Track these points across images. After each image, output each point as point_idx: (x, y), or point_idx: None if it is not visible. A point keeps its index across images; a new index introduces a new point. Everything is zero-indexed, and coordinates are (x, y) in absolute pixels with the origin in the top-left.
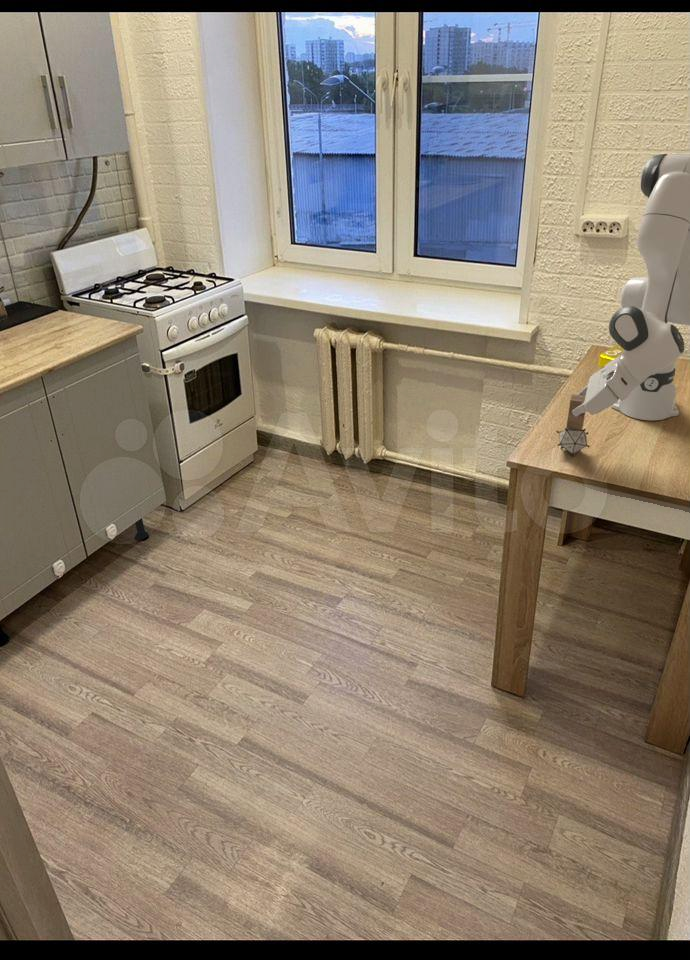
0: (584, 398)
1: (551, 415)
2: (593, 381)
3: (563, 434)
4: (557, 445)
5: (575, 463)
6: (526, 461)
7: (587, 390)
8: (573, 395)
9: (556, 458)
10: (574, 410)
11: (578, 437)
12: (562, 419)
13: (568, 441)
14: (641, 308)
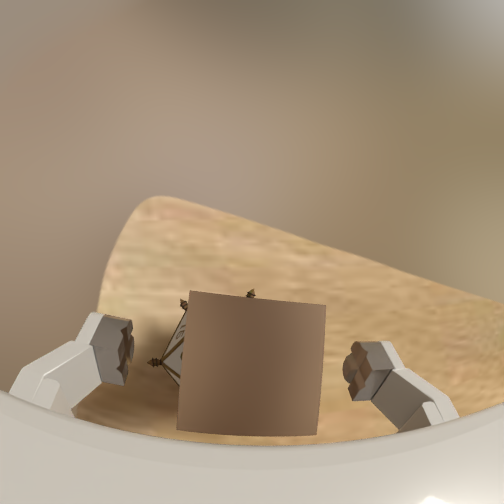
0: (257, 414)
1: (431, 284)
2: (428, 488)
3: None
4: (180, 300)
5: (140, 366)
6: (131, 217)
7: (251, 458)
8: (303, 318)
9: (162, 307)
10: (83, 326)
11: (180, 375)
12: (421, 315)
13: (175, 337)
14: None
